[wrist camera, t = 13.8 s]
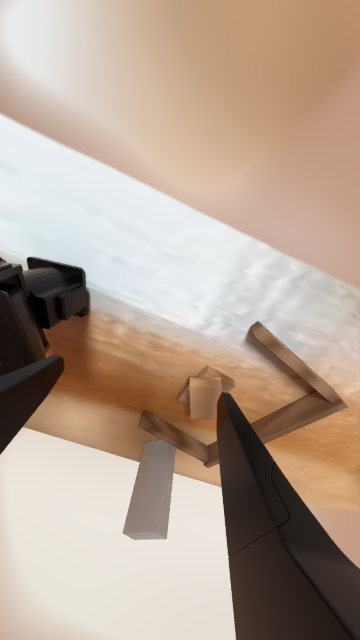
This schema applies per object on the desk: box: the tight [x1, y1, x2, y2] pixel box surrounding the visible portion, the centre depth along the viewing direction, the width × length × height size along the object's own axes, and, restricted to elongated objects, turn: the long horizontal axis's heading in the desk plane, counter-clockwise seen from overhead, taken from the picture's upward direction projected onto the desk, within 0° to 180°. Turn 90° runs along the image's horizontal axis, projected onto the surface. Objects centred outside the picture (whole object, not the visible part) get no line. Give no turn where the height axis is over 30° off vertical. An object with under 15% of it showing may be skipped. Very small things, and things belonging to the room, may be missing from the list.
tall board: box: [123, 439, 176, 540], centre depth 31 cm, size 3×6×12 cm, turn 118°
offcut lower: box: [178, 365, 235, 406], centre depth 27 cm, size 5×8×2 cm, turn 147°
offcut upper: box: [189, 377, 222, 420], centre depth 26 cm, size 4×7×2 cm, turn 3°
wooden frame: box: [138, 321, 348, 468], centre depth 27 cm, size 17×26×3 cm, turn 140°
